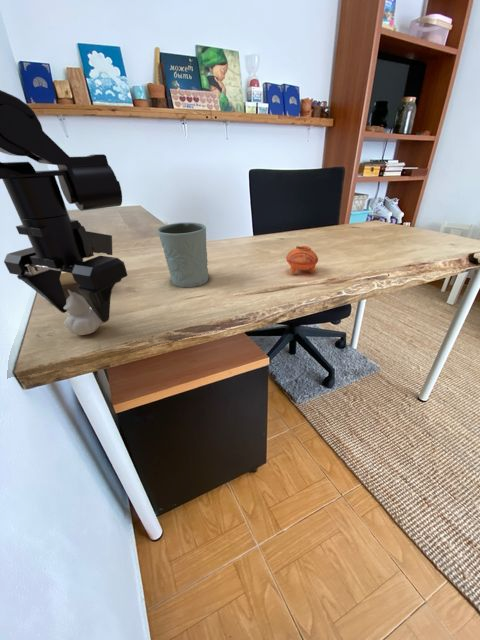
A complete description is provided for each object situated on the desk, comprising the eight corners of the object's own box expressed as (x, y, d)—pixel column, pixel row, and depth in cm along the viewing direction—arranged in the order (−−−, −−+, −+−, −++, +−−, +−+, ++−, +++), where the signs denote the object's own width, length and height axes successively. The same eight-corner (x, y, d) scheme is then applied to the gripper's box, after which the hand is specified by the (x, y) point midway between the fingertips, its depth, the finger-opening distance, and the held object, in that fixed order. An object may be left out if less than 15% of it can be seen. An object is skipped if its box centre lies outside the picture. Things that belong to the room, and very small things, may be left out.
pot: (278, 267, 76) (285, 240, 72) (305, 271, 78) (313, 245, 75) (289, 277, 69) (296, 247, 66) (318, 281, 72) (326, 253, 68)
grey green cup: (209, 271, 75) (203, 221, 68) (214, 286, 67) (208, 230, 60) (168, 275, 73) (157, 224, 66) (168, 291, 65) (156, 234, 58)
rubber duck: (71, 328, 52) (52, 285, 47) (112, 320, 54) (97, 278, 49) (68, 343, 48) (47, 298, 43) (112, 334, 50) (96, 290, 45)
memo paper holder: (102, 294, 64) (93, 269, 61) (54, 303, 60) (43, 277, 57) (99, 280, 70) (91, 257, 67) (56, 288, 67) (46, 264, 64)
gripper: (139, 209, 43) (161, 305, 52) (51, 203, 49) (84, 290, 58) (74, 224, 35) (113, 336, 44) (-23, 215, 41) (29, 315, 50)
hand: (85, 316), depth 49 cm, fingers open, 9 cm apart
